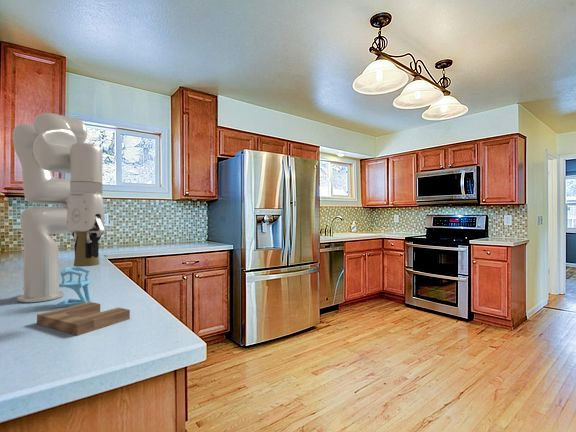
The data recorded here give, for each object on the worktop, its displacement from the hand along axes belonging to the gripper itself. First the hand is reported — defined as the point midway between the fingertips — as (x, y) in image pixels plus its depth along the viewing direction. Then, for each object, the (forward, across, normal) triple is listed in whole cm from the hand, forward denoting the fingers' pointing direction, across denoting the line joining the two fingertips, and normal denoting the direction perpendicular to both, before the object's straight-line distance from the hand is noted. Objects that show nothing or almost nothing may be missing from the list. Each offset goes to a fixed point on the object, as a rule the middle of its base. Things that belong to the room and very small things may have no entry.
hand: (86, 256), depth 88 cm
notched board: (+17, 0, 0) cm, 18 cm away
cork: (+2, 0, 0) cm, 2 cm away
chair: (+18, -20, +8) cm, 28 cm away
